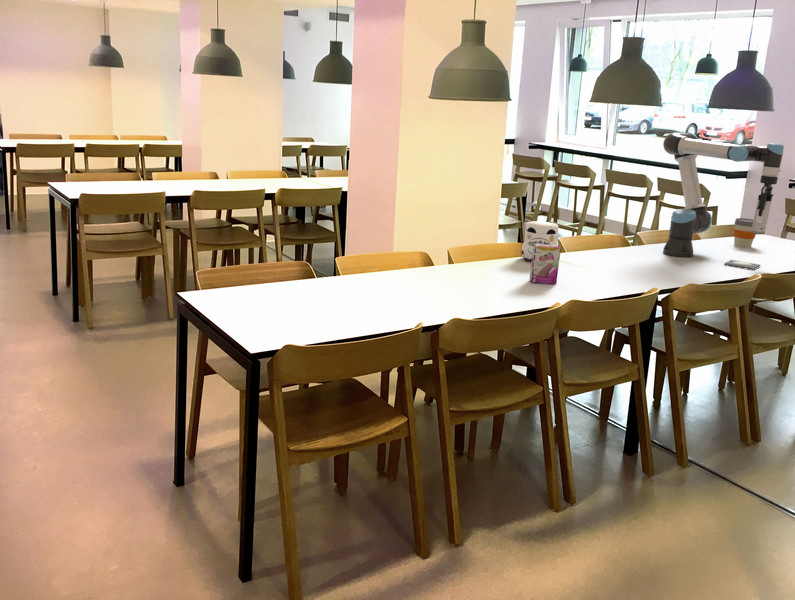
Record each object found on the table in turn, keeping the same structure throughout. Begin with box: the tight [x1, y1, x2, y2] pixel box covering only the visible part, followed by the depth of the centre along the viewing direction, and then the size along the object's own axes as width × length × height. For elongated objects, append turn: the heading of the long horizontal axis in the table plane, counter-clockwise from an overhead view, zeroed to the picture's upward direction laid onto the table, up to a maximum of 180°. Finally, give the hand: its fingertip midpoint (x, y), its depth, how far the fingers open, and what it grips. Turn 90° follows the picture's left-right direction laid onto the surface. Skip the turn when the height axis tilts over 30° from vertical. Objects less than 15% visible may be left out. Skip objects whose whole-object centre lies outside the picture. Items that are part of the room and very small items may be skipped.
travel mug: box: [751, 193, 774, 235], centre depth 382 cm, size 6×7×20 cm
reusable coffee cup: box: [733, 217, 757, 248], centre depth 438 cm, size 13×13×15 cm
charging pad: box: [723, 259, 761, 270], centre depth 386 cm, size 14×12×1 cm
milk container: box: [521, 220, 559, 262], centre depth 371 cm, size 17×17×18 cm
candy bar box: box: [528, 244, 562, 285], centre depth 328 cm, size 11×5×16 cm, turn 92°
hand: (760, 221), depth 383 cm, fingers closed on travel mug, 6 cm apart
